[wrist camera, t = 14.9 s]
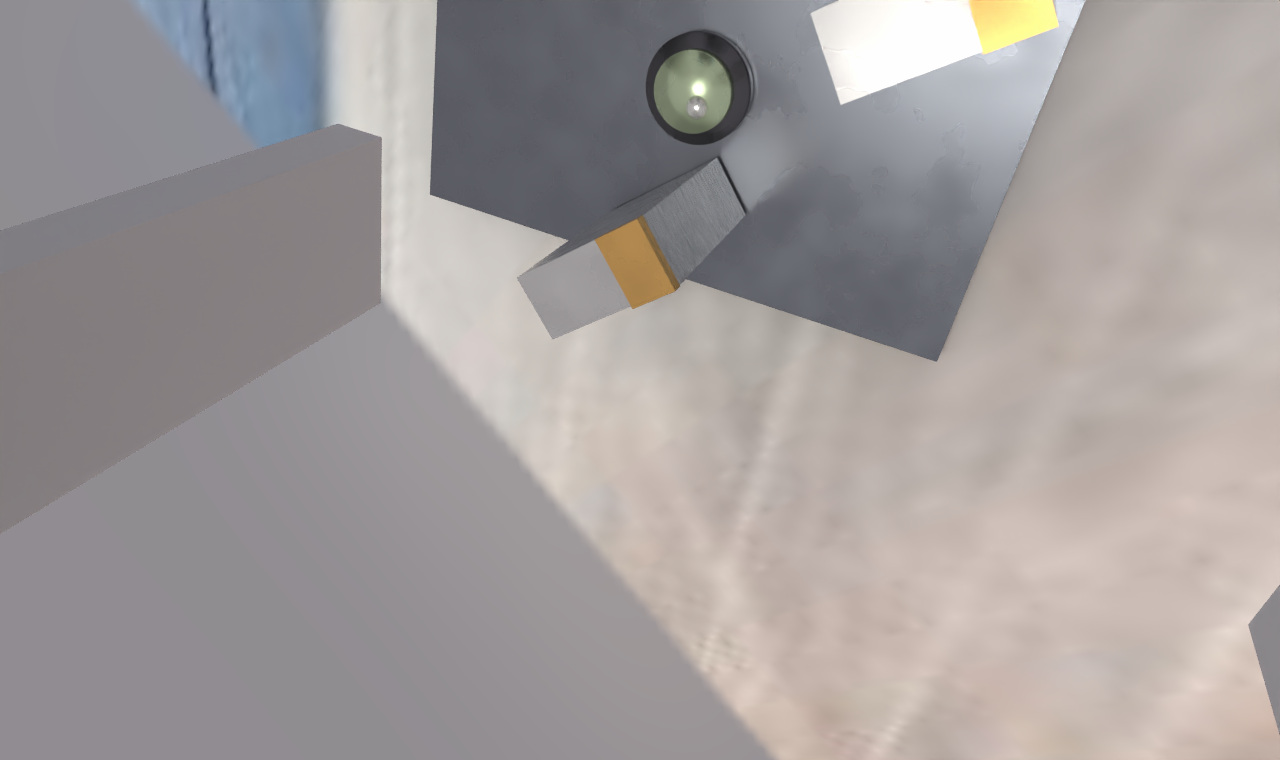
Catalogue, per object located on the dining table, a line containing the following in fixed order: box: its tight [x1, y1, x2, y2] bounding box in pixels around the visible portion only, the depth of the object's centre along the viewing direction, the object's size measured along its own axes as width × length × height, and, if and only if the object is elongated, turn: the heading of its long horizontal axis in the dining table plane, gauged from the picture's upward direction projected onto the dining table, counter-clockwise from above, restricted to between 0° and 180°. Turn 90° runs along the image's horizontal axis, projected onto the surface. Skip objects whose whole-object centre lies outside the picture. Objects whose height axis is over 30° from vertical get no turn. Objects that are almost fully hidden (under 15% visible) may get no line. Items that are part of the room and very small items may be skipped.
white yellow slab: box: [811, 0, 1059, 105], centre depth 32 cm, size 3×7×10 cm, turn 114°
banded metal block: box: [517, 158, 745, 339], centre depth 41 cm, size 3×7×10 cm, turn 120°
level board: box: [430, 0, 1085, 362], centre depth 42 cm, size 20×30×3 cm, turn 79°
